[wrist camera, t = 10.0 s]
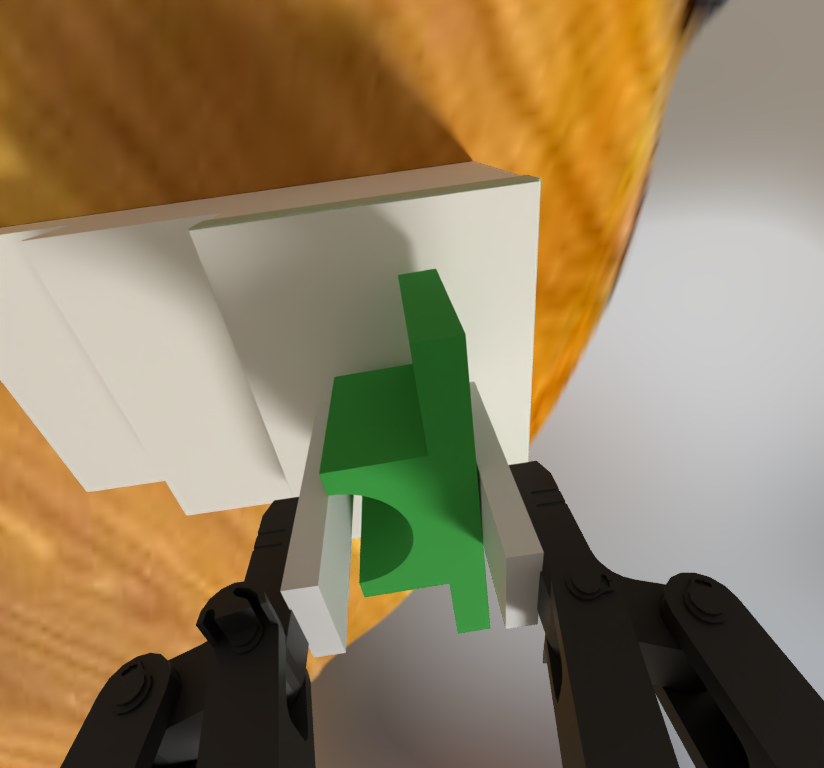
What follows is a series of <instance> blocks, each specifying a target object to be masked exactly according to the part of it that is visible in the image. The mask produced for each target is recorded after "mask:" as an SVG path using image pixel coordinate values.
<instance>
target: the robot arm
mask: <svg viewBox="0 0 824 768" xmlns="http://www.w3.org/2000/svg"><path fill="white" fill-rule="evenodd" d="M470 393H471V405H472V417H473V429H474V441H475V453H476V465H477V477H478V488H479V500H480V512H481V524H482V536H483V546H484V549H485V553H486V557H487V561H488V564H489V568H490V571H491V576H492V579H493V583H494V587H495V590H496V594H497V598H498V602H499V606H500V609H501V613H502V617H503V621H504V624H505V628H506V629H507V628H515V627H521V626H528V625H535V624H537V623H538V613H539V616H540V619H541V622H542V625H543V628H544V631H545V643H544V651H543V663H547V665H548V672H549V678H550V685H551V692H552V699H553V705H554V712H555V718H556V725H557V732H558V739H559V744H560V752H561V759H562V765H563V768H680V767H679V765H678V762H677V758H676V755H675V753H674V749H673V746H672V743H671V740H670V737H669V734H668V731H667V728H666V725H665V722H664V719H663V716H662V713H661V710H660V707H659V704H658V701H657V698H656V695H657V697H658V699H659V701H660V703H661V704H662V706H663V708H664V710H665V712H666V714H667V716H668V717H669V719H670V721H671V723H672V725H673V727H674V728H675V730H676V732H677V734H678V736H679V737H680V739H681V741H682V743H683V745H684V747H685V748H686V750H687V752H688V754H689V756H690V758H691V760H692V761H693V763H694V765H695V767H696V768H824V701H823V699H822V698H821V697H820V696H819V695H818V693H817V692H816V691H815V690H814V689H813V688H812V686H811V685H810V684H809V683H808V682H807V680H806V679H805V678H804V677H803V675H802V674H801V673H800V672H799V671H798V670H797V668H796V667H795V666H794V665H793V663H792V662H791V661H790V660H789V659H788V657H787V656H786V655H785V654H784V653H783V652H782V650H781V649H780V648H779V647H778V645H777V644H776V643H775V642H774V641H773V640H772V638H771V637H770V636H769V635H768V634H767V632H766V631H765V630H764V629H763V628H762V626H761V625H760V624H759V623H758V622H757V620H756V619H755V618H754V617H753V616H752V614H751V613H750V612H749V611H748V610H747V608H746V607H745V606H744V605H743V604H742V602H741V601H740V600H739V599H738V598H737V597H736V596H735V595H734V594H733V593H732V592H731V591H730V590H729V589H728V588H726V587H725V586H724V585H723V584H721V583H719V582H717V581H716V580H714V579H712V578H710V577H707V576H704V575H701V574H697V573H679V574H677V575H675V576H673V577H671V578H670V579H669V581H668V583H667V584H666V585H664V584H659V583H653V582H646V581H640V580H634V579H630V578H627V577H623V576H621V575H619V574H616V573H614V572H612V571H611V570H609V569H608V568H606V567H605V566H604V565H603V564H601V563H600V562H599V561H598V560H597V559H596V557H595V556H594V554H593V553H592V551H591V550H590V548H589V546H588V544H587V542H586V540H585V538H584V536H583V534H582V532H581V531H580V529H579V527H578V525H577V523H576V521H575V519H574V517H573V515H572V513H571V511H570V509H569V508H568V505H567V504H566V503H565V500H564V498H563V496H562V494H561V492H560V491H559V489H558V486H557V484H556V482H555V480H554V479H553V477H552V475H551V473H550V472H549V471H548V470H547V469H545V468H544V467H543V466H542V465H541V464H540V463H538V462H537V461H532V462H525V463H518V464H511V465H508V463H507V460H506V458H505V455H504V453H503V451H502V448H501V446H500V443H499V441H498V438H497V436H496V433H495V431H494V428H493V426H492V423H491V421H490V418H489V416H488V413H487V411H486V409H485V406H484V404H483V401H482V399H481V396H480V394H479V391H478V389H477V386H476V384H475V382H470ZM329 407H330V403H323V404H317V409H316V414H315V419H314V424H313V430H312V435H311V440H310V445H309V450H308V455H307V460H306V465H305V470H304V475H303V480H302V485H301V490H300V495H299V497H293V498H286V499H279V500H274V501H273V503H272V504H271V505H270V507H269V508H268V510H267V511H266V512H265V514H264V515H263V517H262V521H261V524H260V528H259V531H258V536H257V538H256V542H255V545H254V551H253V552H252V556H251V559H250V563H249V566H248V570H247V573H246V577H245V580H244V582H237V583H233V584H231V585H229V586H227V587H225V588H223V589H221V590H220V591H219V592H218V593H216V594H215V595H214V596H213V597H212V598H210V600H209V601H208V602H207V604H206V605H205V606H204V608H203V609H202V610H201V612H200V615H199V618H198V620H197V623H196V626H197V627H198V629H199V630H200V631H201V633H202V634H203V635H204V637H205V638H206V639H207V640H208V641H207V642H205V643H203V644H202V645H200V646H198V647H196V648H193V649H191V650H189V651H187V652H185V653H183V654H181V655H179V656H177V657H175V658H172V659H170V660H166V659H165V658H164V657H163V656H162V655H161V654H155V653H148V654H145V655H141V656H138V657H136V658H134V659H132V660H131V661H129V662H128V663H126V664H124V665H123V666H122V667H121V668H120V669H119V670H118V671H117V672H116V673H115V674H113V675H112V676H111V677H110V678H109V680H108V681H107V683H106V684H105V686H104V687H103V689H102V690H101V692H100V693H99V695H98V696H97V698H96V700H95V702H94V704H93V706H92V708H91V710H90V712H89V714H88V716H87V718H86V719H85V721H84V723H83V725H82V727H81V729H80V731H79V733H78V735H77V737H76V739H75V741H74V742H73V744H72V746H71V748H70V750H69V752H68V754H67V756H66V758H65V760H64V762H63V763H62V765H61V767H60V768H316V767H315V751H314V733H313V717H312V699H311V682H310V678H309V674H308V671H307V669H306V662H307V654H308V647H309V649H310V651H311V653H312V655H313V657H320V656H327V655H334V654H341V653H346V639H347V619H348V599H349V579H350V559H351V540H352V520H353V500H354V495H347V494H342V495H330V496H327V494H326V492H325V489H324V486H323V484H322V481H321V478H320V476H319V470H320V464H321V458H322V451H323V445H324V439H325V433H326V426H327V420H328V414H329ZM655 694H656V695H655Z"/></svg>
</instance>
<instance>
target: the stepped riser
mask: <svg viewBox="0 0 824 768" xmlns="http://www.w3.org/2000/svg"><path fill="white" fill-rule="evenodd" d="M540 192H541V179H540V178H537V177H533V176H530V175H523V176H521V175H518V174H515V173H511V172H508V171H505V170H501V169H498V168H495V167H491V166H488V165H485V164H481V163H478V162H474V161H471V162H464V163H457V164H450V165H443V166H436V167H428V168H421V169H414V170H407V171H400V172H393V173H386V174H379V175H372V176H365V177H357V178H350V179H343V180H336V181H329V182H322V183H315V184H308V185H301V186H293V187H286V188H279V189H272V190H265V191H258V192H251V193H244V194H237V195H230V196H222V197H215V198H208V199H201V200H194V201H187V202H180V203H173V204H166V205H159V206H151V207H144V208H137V209H130V210H123V211H116V212H109V213H102V214H95V215H88V216H80V217H73V218H66V219H59V220H52V221H45V222H38V223H31V224H24V225H17V226H9V227H2V228H0V380H1V381H2V383H3V384H4V385H5V387H6V388H7V389H8V391H9V392H10V393H11V394H12V396H13V397H14V398H15V400H16V401H17V402H18V403H19V405H20V406H21V407H22V409H23V410H24V411H25V413H26V414H27V415H28V416H29V418H30V419H31V420H32V422H33V423H34V424H35V425H36V427H37V428H38V429H39V431H40V432H41V433H42V435H43V436H44V437H45V438H46V440H47V441H48V442H49V444H50V445H51V446H52V447H53V449H54V450H55V451H56V453H57V454H58V455H59V457H60V458H61V459H62V460H63V462H64V463H65V464H66V466H67V467H68V468H69V469H70V471H71V472H72V473H73V475H74V476H75V477H76V479H77V480H78V481H79V482H80V484H81V485H82V486H83V488H84V489H85V490H86V491H87V492H92V491H99V490H105V489H112V488H119V487H126V486H133V485H139V484H146V483H153V482H160V481H166V483H167V485H168V486H169V488H170V489H171V491H172V493H173V494H174V496H175V498H176V499H177V501H178V502H179V504H180V506H181V507H182V509H183V511H184V512H185V514H186V515H194V514H201V513H207V512H214V511H221V510H228V509H234V508H241V507H248V506H255V505H262V504H268V503H273V501H274V500H279V499H286V498H293V497H299V495H300V490H301V485H302V480H303V475H304V470H305V465H306V460H307V455H308V450H309V445H310V440H311V435H312V430H313V424H314V419H315V414H316V409H317V404H323V403H330V401H331V395H332V388H333V382H334V377H337V376H343V375H349V374H355V373H361V372H367V371H373V370H379V369H385V368H390V367H396V366H402V365H408V364H413V363H412V357H411V351H410V345H409V339H408V333H407V327H406V321H405V315H404V309H403V303H402V297H401V291H400V285H399V279H398V275H400V274H406V273H412V272H418V271H424V270H430V269H436V270H437V272H438V274H439V276H440V278H441V281H442V283H443V285H444V287H445V290H446V292H447V294H448V296H449V298H450V301H451V303H452V305H453V307H454V310H455V312H456V314H457V316H458V318H459V321H460V323H461V325H462V327H463V329H464V332H465V334H466V346H467V358H468V369H469V381H470V382H475V384H476V386H477V389H478V391H479V394H480V396H481V399H482V401H483V404H484V406H485V409H486V411H487V413H488V416H489V418H490V421H491V423H492V426H493V428H494V431H495V433H496V436H497V438H498V441H499V443H500V446H501V448H502V451H503V453H504V455H505V458H506V460H507V463H508V465H511V464H518V463H525V462H528V455H529V433H530V411H531V390H532V368H533V346H534V324H535V302H536V280H537V258H538V236H539V214H540ZM361 517H362V496H360V495H354V500H353V520H352V539H356V538H361Z"/></svg>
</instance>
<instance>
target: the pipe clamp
mask: <svg viewBox="0 0 824 768" xmlns="http://www.w3.org/2000/svg"><path fill="white" fill-rule="evenodd" d="M398 279H399V285H400V291H401V297H402V303H403V309H404V315H405V321H406V327H407V333H408V339H409V345H410V351H411V357H412V363H413V364H408V365H402V366H396V367H390V368H385V369H379V370H373V371H367V372H361V373H355V374H349V375H343V376H337V377H334V382H333V388H332V395H331V401H330V407H329V414H328V420H327V426H326V433H325V439H324V445H323V451H322V458H321V464H320V470H319V476H320V478H321V481H322V484H323V486H324V489H325V492H326V494H327V496H330V495H342V494H347V495H360V496H362V517H361V549H360V582H359V583H360V586H361V589H362V591H363V594H364V597H369V596H376V595H382V594H388V593H394V592H400V591H406V590H412V589H419V588H425V587H431V586H437V585H443V584H449V583H450V589H451V595H452V601H453V607H454V613H455V619H456V625H457V631H458V633H465V632H471V631H477V630H482V629H489V628H490V621H489V620H490V619H489V607H488V596H487V584H486V572H485V560H484V548H483V536H482V524H481V512H480V500H479V488H478V477H477V465H476V453H475V441H474V429H473V417H472V405H471V393H470V381H469V369H468V358H467V346H466V334H465V332H464V329H463V327H462V325H461V323H460V321H459V318H458V316H457V314H456V312H455V310H454V307H453V305H452V303H451V301H450V298H449V296H448V294H447V292H446V290H445V287H444V285H443V283H442V281H441V278H440V276H439V274H438V272H437V270H436V269H430V270H424V271H418V272H412V273H406V274H400V275H398Z"/></svg>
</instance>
